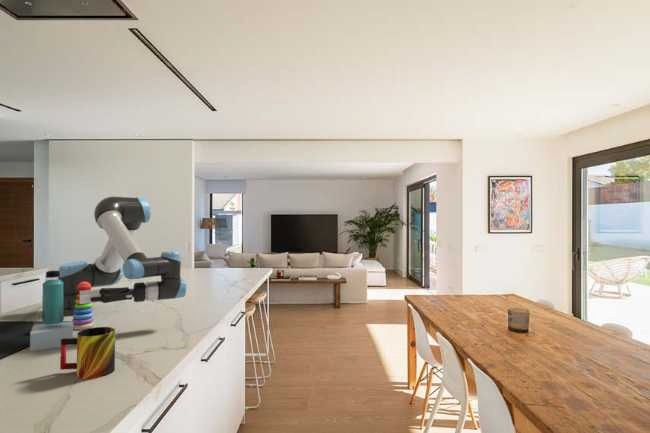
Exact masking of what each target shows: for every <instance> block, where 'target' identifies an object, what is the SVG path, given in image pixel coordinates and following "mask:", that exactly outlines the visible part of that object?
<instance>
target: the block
mask: <svg viewBox="0 0 650 433" xmlns="http://www.w3.org/2000/svg"><path fill="white" fill-rule="evenodd" d="M73 333H74V329H73V321H72V320H67V321H63V322H61V323H58V324H51V325H45V324H43V323H42V324H33V326H32V328H31V331H30V336H29V339H30V340H29V352H36V351H43V350H50V349H57V348H61V339H63V338H74V337H73V336H74V334H73ZM70 346H71V347H72V346H73V345H66V347H70Z"/></svg>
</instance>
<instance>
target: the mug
mask: <svg viewBox="0 0 650 433" xmlns="http://www.w3.org/2000/svg"><path fill="white" fill-rule="evenodd" d="M76 336H77V337H73V338H63V339H61V347H60V357H59V358H60V361H59V362H60V363H59V364H60V365H59V366H60V369H59V370H62V371H63V370H76V377H77V378H78V379H81V378H82V380H93V379H92V378H94V379H100V378H103V377H106V376H108V375H112V374H113V373H114V371H115V369H116V367H115V366H116V357H115V356H116V328H115V327H111V326H99V327H91V328H88V329H83V330H81V331H80V330H79V331H78V332H77V334H76ZM66 345H72V346H73V345H76V362H67V346H66ZM99 377H100V378H99Z"/></svg>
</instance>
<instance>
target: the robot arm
mask: <svg viewBox="0 0 650 433" xmlns="http://www.w3.org/2000/svg"><path fill="white" fill-rule="evenodd" d="M151 212H152V210H151V206H150V203H149V202H148V200H147V199H146V198H144V197H137V196H136V197H130V196H129V197H127V196H126V197H125V196H108V197H106V198H103V199H102V200H100V201H99V202H98V203H97V205H96V206H95V209H94V212H93V215H94V216H93V217H94V220H95V223H96V224H97V226H98V227H99V228H100V229H103V231H104V232H105V234H106V235H107V237H108V239H107V242H106V243H105V246H104V249H103V251H102V253H101V255H100V256H97V258H96V259H95V260H94V262H93V263H88V261H83V260H82V261H74V262H68V263H64V264H61V265H59V268H58V270H57V271H59V272H60V276H59V277H57V280H61V281H62V282H63V283H64V284H63V298H64V317H65V316H66V317H68V316H69V317H70V316H73V315H74V310H75V309H76V308H75V305H76V300H77V295H78V294H80V304H85V303H91V304H94V303H103V304H106V303H113V302H121V301H126V300H132V299H133V301H134V302H135V303H141V302H145V301H146V302H152V303H154V302H155V301H162V300H171V299H173V300H175V299H180V298H184V297H185V296H186V294H187V290H188V289H187V288H188V287H187V282H186V280H185V279H182V278H181V267H182V266H181V265H182V259H181V258H182V256H181V252H179V251H177V250H169V251H168V250H167V251H166V250H165V251H162V252H161V254H160V256H156V257H155V256H154V257H147V256H146V255H145V253H144V251H143V250H142V248H141V247H140V246H139V244H138V242H137V241H136V240H135V238H134V237H133V234H134V232H135V231H137V230H139V229H140V228H141V225H142V224H146V223H148V222H149V221H150V219H151V216H152V215H151V214H152V213H151ZM121 260H122V261H123V263H122V264H123V265H122V264H121V262H120V261H121ZM123 276H124V278H126V279H127V280H139V279H145V278H153V277H160V280H158V281H155V280H154V281H146V282H142V281H141V282H135V283H134V284H133V288H129V287H128V286H126V287H110V286H113V285H116V284H118V283H119V282H120V281H121V279H122V277H123ZM81 282H88V283H90V284H91V290H85V291H80V293H79V292H78V291H77V286H78V284H80V283H81ZM97 287H99V288H100V287H102V288H100V289H92V288H97ZM105 287H106V288H105Z"/></svg>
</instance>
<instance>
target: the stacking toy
mask: <svg viewBox="0 0 650 433" xmlns="http://www.w3.org/2000/svg"><path fill="white" fill-rule="evenodd" d="M85 290H92V288H91V284H90V283H88V282H81V283H80V284H78V286H77V291H78V292H79V293H80V291H85ZM92 307H93V303H85V304H80V294H78V295H77V300H76V305H75V308H76V309H75V310H74V315H72V319H71V321H73V331H74V330H75V331H80V330H81V331H82V330H86V329H90V328H94V324H95V322H93V321H94V318H93V316H94V314H93V308H92Z"/></svg>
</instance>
